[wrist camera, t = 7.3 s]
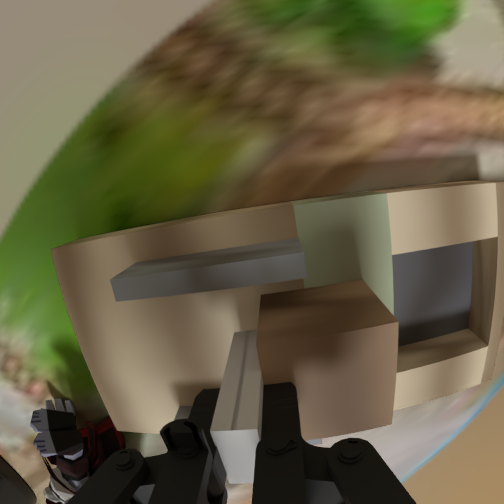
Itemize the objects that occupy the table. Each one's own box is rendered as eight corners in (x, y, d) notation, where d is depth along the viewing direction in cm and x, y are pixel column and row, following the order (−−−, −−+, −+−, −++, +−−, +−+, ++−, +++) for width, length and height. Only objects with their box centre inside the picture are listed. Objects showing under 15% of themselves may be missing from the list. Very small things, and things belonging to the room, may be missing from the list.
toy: (20, 509, 9) (73, 565, 14) (165, 486, 15) (163, 547, 19) (3, 374, 18) (41, 470, 23) (108, 366, 24) (116, 460, 28)
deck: (131, 406, 21) (101, 458, 16) (77, 239, 19) (17, 262, 13) (472, 358, 19) (512, 402, 13) (479, 179, 16) (541, 184, 10)
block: (274, 379, 17) (274, 444, 12) (260, 294, 16) (255, 345, 11) (365, 365, 16) (391, 424, 11) (362, 279, 15) (398, 321, 10)
